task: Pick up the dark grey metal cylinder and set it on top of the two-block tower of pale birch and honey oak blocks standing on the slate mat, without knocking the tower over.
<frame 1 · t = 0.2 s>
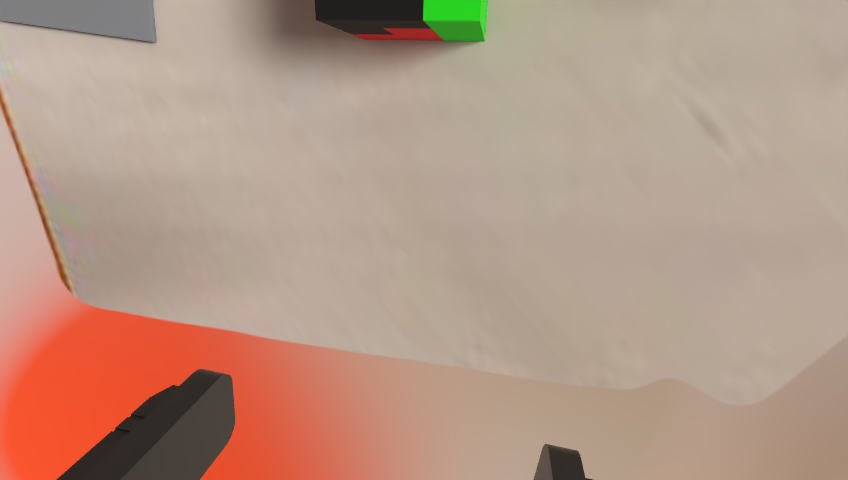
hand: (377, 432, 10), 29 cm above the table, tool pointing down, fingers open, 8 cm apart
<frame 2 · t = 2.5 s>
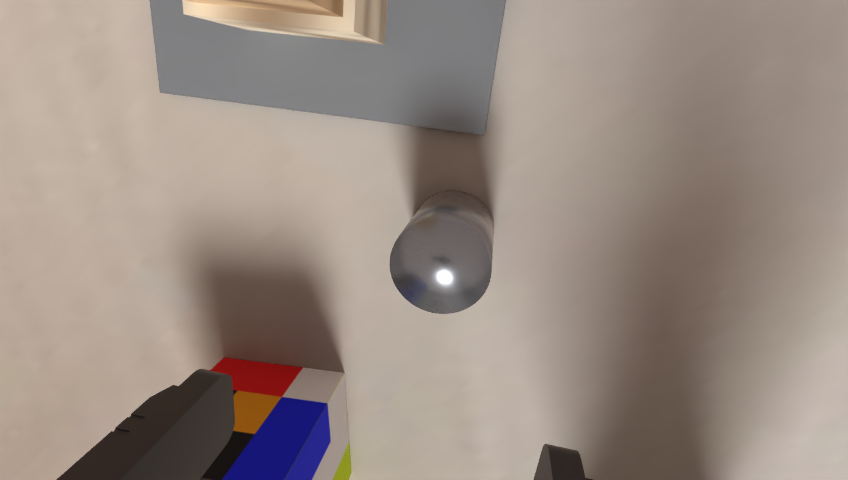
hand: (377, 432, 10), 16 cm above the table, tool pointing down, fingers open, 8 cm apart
puzzle toy: (290, 414, 34), on the table
metal cylinder: (452, 230, 26), on the table
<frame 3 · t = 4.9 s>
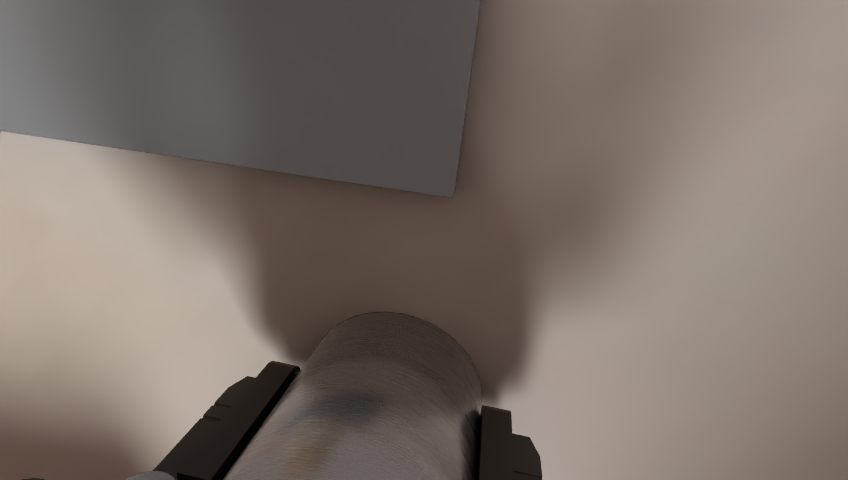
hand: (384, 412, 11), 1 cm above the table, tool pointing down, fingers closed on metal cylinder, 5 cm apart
metal cylinder: (393, 388, 12), on the table, touching gripper
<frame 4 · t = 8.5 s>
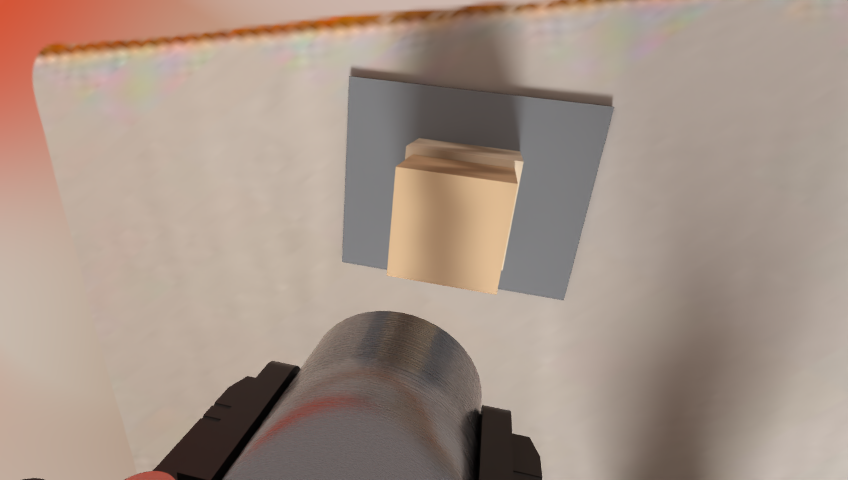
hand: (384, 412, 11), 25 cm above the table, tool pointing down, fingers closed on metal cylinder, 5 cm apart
base block: (461, 193, 34), point 1 cm above the table, touching slate mat, top block
top block: (455, 210, 29), point 6 cm above the table, touching base block
slate mat: (462, 192, 34), on the table
metal cylinder: (393, 387, 12), point 24 cm above the table, touching gripper
when the fingers open (13 cm above the table, at t = 12.6 s): metal cylinder drops 1 cm, resting on top block.
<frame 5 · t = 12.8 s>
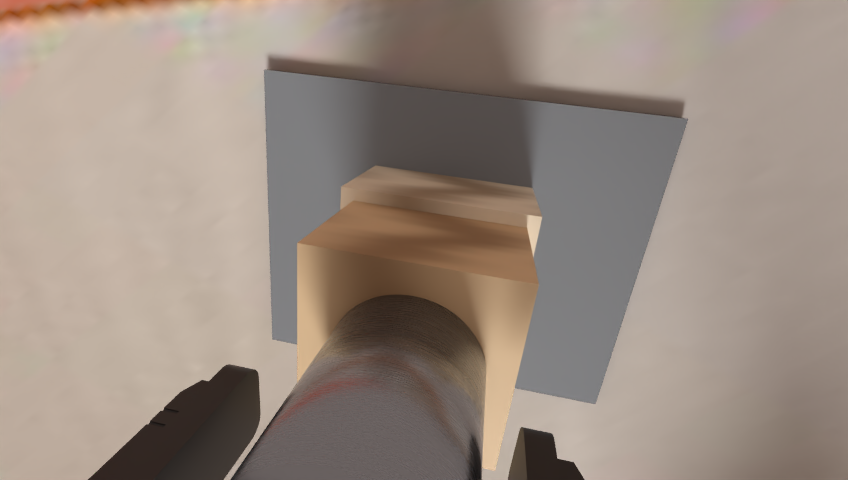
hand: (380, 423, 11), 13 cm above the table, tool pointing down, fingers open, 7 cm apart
base block: (442, 249, 22), point 1 cm above the table, touching slate mat, top block
top block: (427, 291, 18), point 6 cm above the table, touching base block, metal cylinder
slate mat: (443, 245, 23), on the table
metal cylinder: (405, 365, 13), point 11 cm above the table, touching top block
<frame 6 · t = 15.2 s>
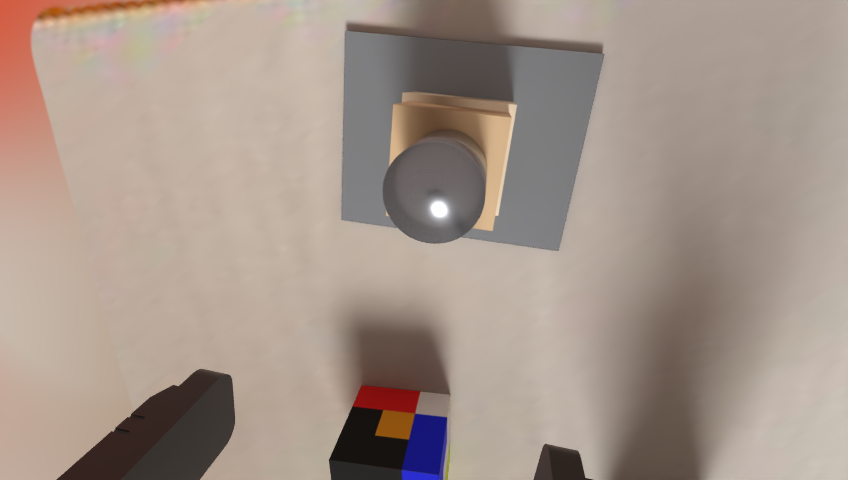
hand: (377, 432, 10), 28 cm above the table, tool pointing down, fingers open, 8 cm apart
base block: (457, 146, 35), point 1 cm above the table, touching slate mat, top block
top block: (452, 156, 30), point 6 cm above the table, touching base block, metal cylinder
slate mat: (458, 145, 35), on the table
puzzle toy: (406, 423, 47), on the table
metal cylinder: (446, 170, 25), point 11 cm above the table, touching top block
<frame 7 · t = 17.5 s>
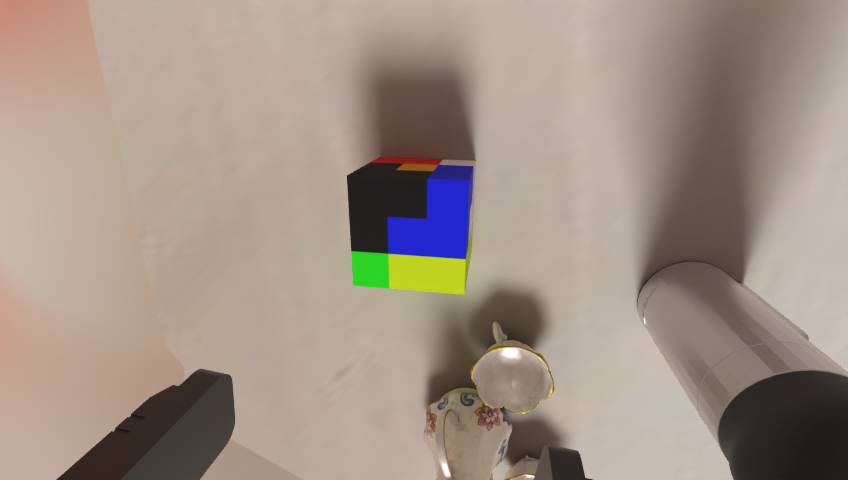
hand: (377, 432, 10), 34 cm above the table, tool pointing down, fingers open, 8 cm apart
puzzle toy: (426, 205, 44), on the table
chinaware: (492, 411, 52), on the table
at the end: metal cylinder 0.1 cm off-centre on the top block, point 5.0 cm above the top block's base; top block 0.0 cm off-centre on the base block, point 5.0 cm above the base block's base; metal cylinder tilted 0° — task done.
